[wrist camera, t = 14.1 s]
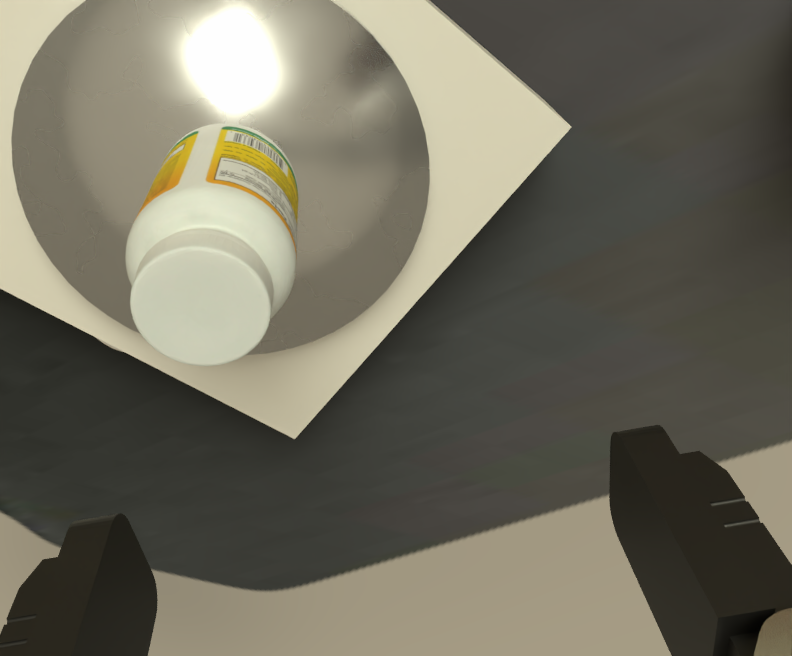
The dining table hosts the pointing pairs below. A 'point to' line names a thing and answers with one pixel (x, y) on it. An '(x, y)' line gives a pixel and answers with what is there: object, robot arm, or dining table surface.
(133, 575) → the robot arm
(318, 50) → the scale pan
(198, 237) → the supplement bottle
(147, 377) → the dining table surface
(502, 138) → the scale base
